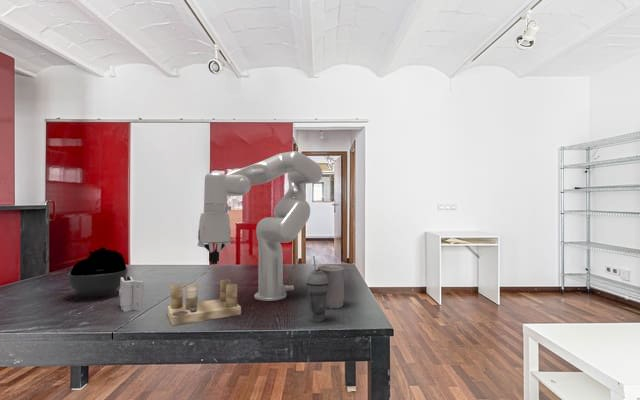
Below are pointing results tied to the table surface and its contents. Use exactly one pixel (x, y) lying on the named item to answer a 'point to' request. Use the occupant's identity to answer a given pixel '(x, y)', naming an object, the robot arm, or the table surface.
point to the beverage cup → (317, 293)
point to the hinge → (131, 294)
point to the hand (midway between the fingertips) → (213, 263)
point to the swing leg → (191, 297)
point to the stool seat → (204, 305)
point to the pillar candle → (334, 285)
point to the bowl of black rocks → (98, 273)
